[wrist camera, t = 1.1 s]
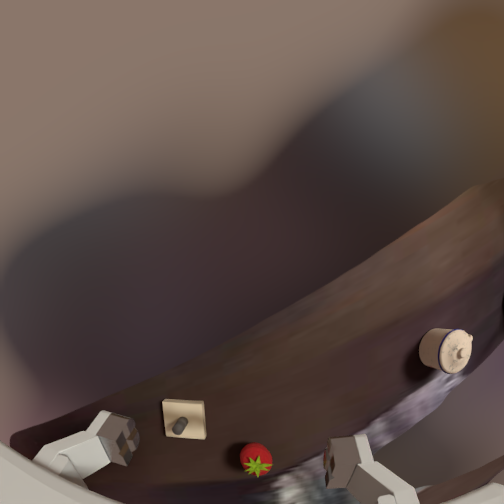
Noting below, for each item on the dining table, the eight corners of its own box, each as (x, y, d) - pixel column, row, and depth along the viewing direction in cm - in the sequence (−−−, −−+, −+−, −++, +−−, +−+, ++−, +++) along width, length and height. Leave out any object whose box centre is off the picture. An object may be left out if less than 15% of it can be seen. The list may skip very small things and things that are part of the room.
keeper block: (206, 435, 51) (200, 449, 44) (168, 432, 51) (159, 446, 44) (203, 400, 52) (196, 412, 45) (165, 398, 52) (154, 409, 46)
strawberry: (263, 429, 51) (265, 451, 41) (275, 456, 50) (278, 481, 40) (236, 437, 51) (232, 459, 41) (248, 464, 50) (247, 489, 40)
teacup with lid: (420, 373, 52) (449, 384, 41) (413, 336, 54) (444, 340, 42) (459, 352, 53) (490, 358, 41) (453, 316, 54) (485, 316, 43)
